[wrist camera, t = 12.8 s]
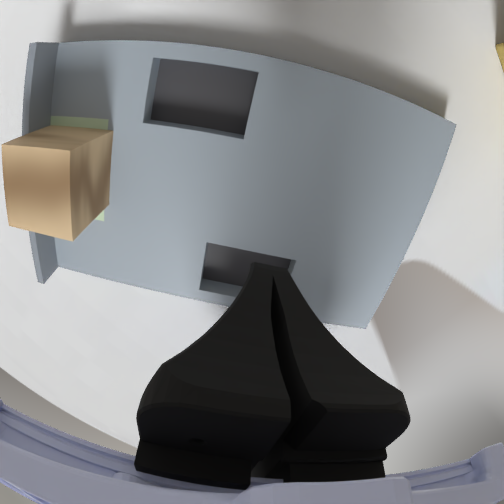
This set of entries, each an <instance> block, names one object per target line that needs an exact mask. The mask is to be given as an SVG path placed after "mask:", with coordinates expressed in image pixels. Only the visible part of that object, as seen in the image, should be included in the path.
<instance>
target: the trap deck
mask: <svg viewBox="0 0 504 504" xmlns="http://www.w3.org/2000/svg"><path fill="white" fill-rule="evenodd" d="M50 125H55V126H70V127H82V128H93V129H103V130H113V142H112V155H111V172H110V197H109V205H108V206H107V207H106V208H105V209H104V210H103V211H102V212H101V213H100V214H99V215H98V216H97V217H96V218H95V219H94V220H93V221H92V222H91V223H90V224H89V225H88V226H87V227H86V228H85V229H84V230H83V231H82V232H81V233H80V235H79V236H78V237H77V238H76V239H75V240H74V241H73V242H72V241H68V240H64V239H60V238H56V237H52V236H48V235H44V234H40V233H36V232H32V231H29V236H30V242H31V248H32V254H33V259H34V265H35V270H36V275H37V279H38V282H40V283H43V284H44V283H45V282H46V281H47V279H48V278H49V277H50V276H51V275H52V273H53V272H54V271H55V270H56V269H57V267H62V268H66V269H69V270H73V271H77V272H80V273H84V274H88V275H92V276H96V277H100V278H103V279H107V280H111V281H115V282H120V283H124V284H128V285H132V286H136V287H140V288H145V289H149V290H153V291H158V292H162V293H167V294H171V295H176V296H180V297H185V298H190V299H194V300H199V301H204V302H209V303H214V304H219V305H224V306H229V307H230V305H231V304H232V303H233V301H234V300H235V298H236V297H237V295H238V294H239V292H240V291H241V289H242V287H243V285H244V283H245V281H246V279H247V276H248V272H249V268H250V264H251V263H253V262H257V263H262V264H267V265H272V266H277V267H282V268H287V270H288V271H289V273H290V275H291V277H292V278H293V280H294V282H295V283H296V285H297V287H298V289H299V290H300V292H301V294H302V295H303V297H304V298H305V300H306V302H307V303H308V305H309V306H310V308H311V309H312V311H313V312H314V313H315V315H316V316H317V317H318V319H319V320H320V321H321V323H328V324H335V325H341V326H348V327H356V328H363V329H366V327H367V325H368V324H369V322H370V320H371V318H372V317H373V315H374V313H375V311H376V309H377V308H378V306H379V304H380V302H381V301H382V299H383V297H384V295H385V293H386V291H387V289H388V287H389V286H390V283H391V282H392V280H393V278H394V276H395V274H396V272H397V270H398V268H399V266H400V264H401V262H402V260H403V258H404V256H405V254H406V252H407V250H408V248H409V245H410V243H411V241H412V239H413V237H414V235H415V232H416V230H417V228H418V226H419V223H420V221H421V219H422V217H423V214H424V212H425V209H426V207H427V205H428V202H429V200H430V197H431V195H432V192H433V190H434V187H435V185H436V182H437V180H438V177H439V174H440V172H441V169H442V166H443V163H444V161H445V158H446V155H447V152H448V149H449V146H450V143H451V140H452V137H453V134H454V131H455V128H456V124H454V123H452V122H451V121H449V120H447V119H445V118H443V117H441V116H439V115H437V114H435V113H433V112H430V111H428V110H426V109H424V108H422V107H420V106H418V105H415V104H413V103H411V102H409V101H406V100H404V99H402V98H399V97H397V96H394V95H392V94H389V93H387V92H384V91H382V90H379V89H377V88H374V87H371V86H369V85H366V84H363V83H360V82H358V81H355V80H352V79H349V78H346V77H343V76H340V75H336V74H333V73H330V72H327V71H323V70H320V69H317V68H313V67H309V66H306V65H302V64H298V63H294V62H290V61H286V60H282V59H278V58H273V57H269V56H264V55H259V54H254V53H249V52H243V51H238V50H232V49H225V48H219V47H212V46H204V45H195V44H186V43H175V42H161V41H141V40H97V41H77V42H63V43H48V42H35V43H30V45H29V52H28V59H27V67H26V75H25V86H24V99H23V119H22V136H23V135H26V134H28V133H31V132H33V131H36V130H39V129H41V128H44V127H47V126H50Z"/></svg>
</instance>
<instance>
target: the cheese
mask: <svg viewBox="0 0 504 504" xmlns="http://www.w3.org/2000/svg"><path fill="white" fill-rule="evenodd" d="M496 50H497V53H498V56H499V59H500V62H501V65H502V68H503V71H504V43H501V44H497V45H496Z"/></svg>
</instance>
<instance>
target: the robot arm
mask: <svg viewBox="0 0 504 504" xmlns="http://www.w3.org/2000/svg"><path fill="white" fill-rule="evenodd" d="M136 420H137V425H138V431H139V436H140V441H139V445H138V449H137V453H136V456H133V455H129V454H126V453H122V452H119V451H115V450H112V449H109V448H106V447H103V446H100V445H97V444H94V443H91V442H88V441H86V440H83V439H80V438H78V437H75V436H72V435H70V434H67V433H64V432H62V431H60V430H57V429H55V428H53V427H51V426H48V425H46V424H44V423H42V422H39V421H37V420H35V419H33V418H31V417H29V416H27V415H25V414H23V413H21V412H19V411H17V410H15V409H13V408H11V407H9V406H7V405H5V404H4V403H3V402H2V400H1V398H0V482H1V483H2V484H4V485H6V486H7V487H9V488H11V489H13V490H14V491H16V492H17V493H19V494H21V495H23V496H25V497H26V498H28V499H31V500H32V501H34V502H36V503H38V504H496V503H498V502H499V501H501V500H503V499H504V446H503V443H498V444H495V445H491V446H488V447H486V448H483V449H482V450H480V451H478V452H477V453H476V454H474V455H473V456H472V457H471V458H470V459H466V460H462V461H459V462H454V463H450V464H446V465H442V466H437V467H433V468H427V469H422V470H416V471H410V472H404V473H398V474H390V475H385V471H384V466H383V461H384V460H386V458H387V453H386V447H387V446H388V445H390V444H391V443H392V442H393V441H394V440H395V439H397V438H398V437H399V436H400V435H401V434H402V433H403V432H404V431H405V430H406V429H407V427H408V425H409V423H410V415H409V411H408V408H407V404H406V401H405V398H404V395H403V393H402V392H401V391H400V390H398V389H397V388H395V387H394V386H392V385H390V384H389V383H387V382H386V381H384V380H383V379H381V378H380V377H378V376H377V375H376V374H374V373H373V372H372V371H370V370H369V369H368V368H366V367H365V366H364V365H363V364H361V363H360V362H359V361H358V360H357V359H356V358H354V357H353V356H352V355H351V354H350V353H349V352H348V351H347V350H346V349H345V348H344V347H343V346H342V345H341V344H340V343H339V342H338V341H337V340H336V339H335V338H334V337H333V336H332V334H331V333H330V332H329V331H328V330H327V329H326V328H325V326H324V325H323V324H322V323H321V321H320V320H319V319H318V317H317V316H316V315H315V313H314V312H313V311H312V309H311V308H310V306H309V305H308V303H307V302H306V300H305V298H304V297H303V295H302V294H301V292H300V290H299V289H298V287H297V285H296V283H295V282H294V280H293V278H292V277H291V275H290V273H289V271H288V270H287V268H282V267H277V266H272V265H267V264H262V263H257V262H253V263H251V264H250V268H249V272H248V276H247V279H246V281H245V283H244V285H243V287H242V289H241V291H240V292H239V294H238V295H237V297H236V298H235V300H234V301H233V303H232V304H231V305H230V307H229V308H228V309H227V311H226V312H225V313H224V314H223V315H222V316H221V318H220V319H219V320H218V321H217V322H216V323H215V324H214V325H213V326H212V327H211V328H210V329H209V330H208V331H207V332H206V333H205V334H204V335H203V336H201V337H200V338H199V339H198V340H196V341H195V342H194V343H193V344H191V345H190V346H189V347H188V348H186V349H185V350H183V351H182V352H181V353H179V354H177V355H176V356H174V357H173V358H171V359H169V360H168V361H166V362H165V363H163V364H162V365H161V366H160V368H159V369H158V370H157V372H156V373H155V375H154V376H153V377H152V379H151V381H150V382H149V384H148V386H147V387H146V389H145V391H144V393H143V395H142V398H141V401H140V404H139V408H138V411H137V417H136Z"/></svg>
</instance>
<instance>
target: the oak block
mask: <svg viewBox="0 0 504 504" xmlns="http://www.w3.org/2000/svg"><path fill="white" fill-rule="evenodd" d="M112 142H113V130H103V129H93V128H82V127H70V126H55V125H50V126H47V127H44V128H41V129H39V130H36V131H33V132H31V133H28V134H26V135H23V136H21V137H18V138H16V139H13V140H11V141H9V142H6V143H4V144H2V164H3V179H4V190H5V199H6V208H7V215H8V222H9V226H12V227H16V228H20V229H24V230H28V231H32V232H36V233H40V234H44V235H48V236H52V237H56V238H60V239H64V240H68V241H72V242H73V241H74V240H75V239H76V238H77V237H78V236H79V235H80V233H81V232H82V231H83V230H84V229H85V228H86V227H87V226H88V225H89V224H90V223H91V222H92V221H93V220H94V219H95V218H96V217H97V216H98V215H99V214H100V213H101V212H102V211H103V210H104V209H105V208H106V207H107V206H108V205H109V197H110V172H111V155H112Z"/></svg>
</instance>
